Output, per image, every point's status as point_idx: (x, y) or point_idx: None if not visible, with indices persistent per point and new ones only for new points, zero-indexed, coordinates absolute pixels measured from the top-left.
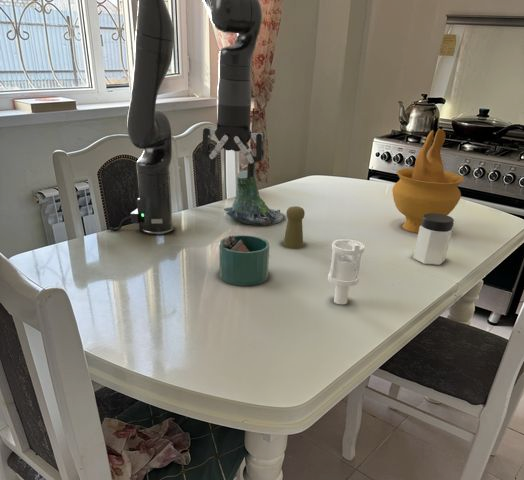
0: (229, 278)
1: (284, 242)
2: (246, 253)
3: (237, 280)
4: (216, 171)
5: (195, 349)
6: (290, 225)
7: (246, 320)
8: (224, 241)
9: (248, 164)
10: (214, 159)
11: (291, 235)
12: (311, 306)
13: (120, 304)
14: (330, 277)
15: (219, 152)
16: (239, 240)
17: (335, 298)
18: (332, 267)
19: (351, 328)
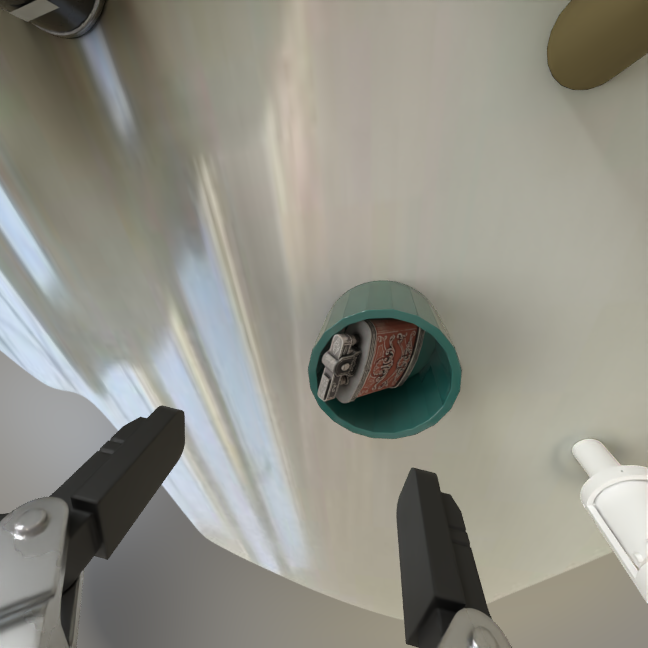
0: None
1: (556, 57)
2: (386, 437)
3: None
4: (170, 445)
5: (316, 544)
6: (630, 30)
7: (383, 494)
8: (322, 380)
9: (411, 634)
10: (94, 549)
11: (604, 61)
12: (512, 462)
13: None
14: (586, 509)
15: (61, 574)
16: (366, 326)
17: (577, 460)
18: (605, 537)
19: (563, 526)
